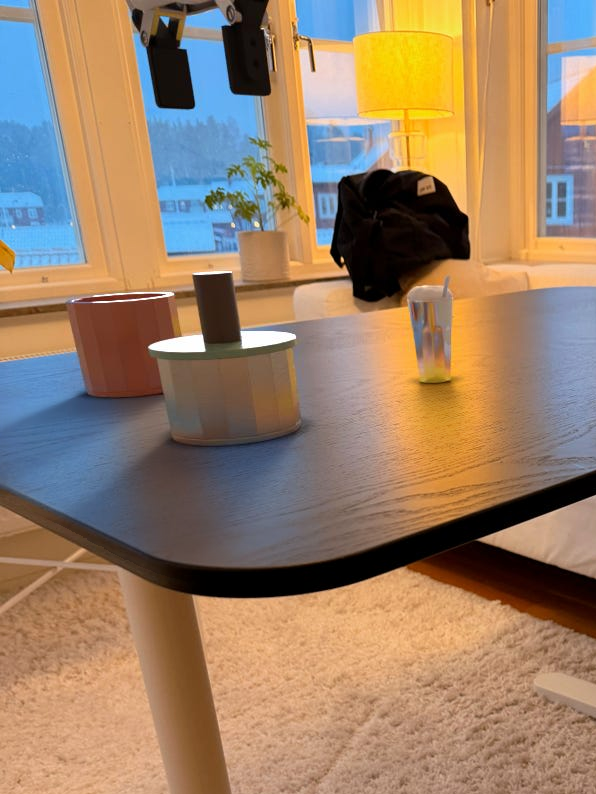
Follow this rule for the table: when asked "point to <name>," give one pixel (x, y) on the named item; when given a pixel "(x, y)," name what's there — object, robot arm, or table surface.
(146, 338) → the cup
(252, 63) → the robot arm
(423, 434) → the table surface
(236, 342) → the lid
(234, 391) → the tin
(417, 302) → the milkshake
